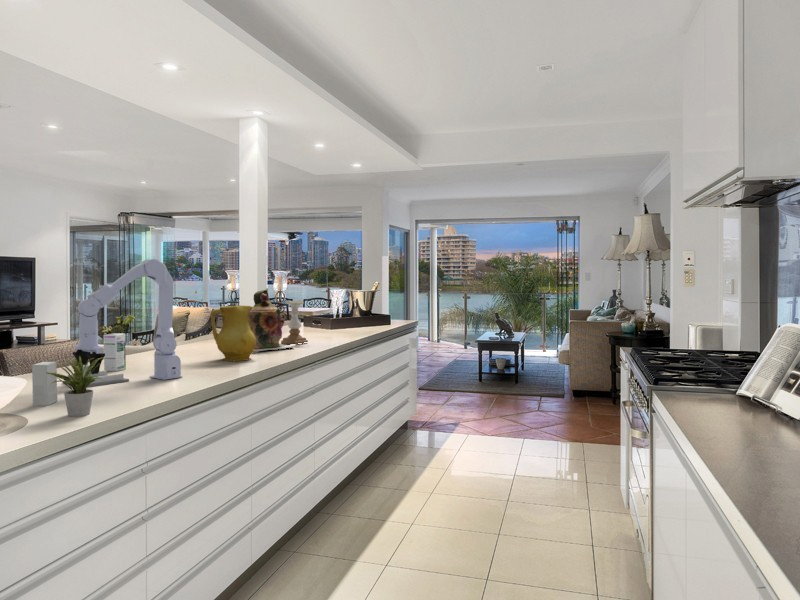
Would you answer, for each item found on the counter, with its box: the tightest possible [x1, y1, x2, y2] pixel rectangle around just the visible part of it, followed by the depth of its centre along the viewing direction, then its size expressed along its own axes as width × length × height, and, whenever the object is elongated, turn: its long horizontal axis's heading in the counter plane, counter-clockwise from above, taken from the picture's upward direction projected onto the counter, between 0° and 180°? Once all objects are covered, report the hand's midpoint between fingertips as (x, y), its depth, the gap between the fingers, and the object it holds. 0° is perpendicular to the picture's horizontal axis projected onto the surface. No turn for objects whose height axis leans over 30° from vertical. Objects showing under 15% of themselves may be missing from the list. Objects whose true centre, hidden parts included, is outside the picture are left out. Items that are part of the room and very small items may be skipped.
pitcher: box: [210, 305, 256, 362], centre depth 275 cm, size 17×19×25 cm
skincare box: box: [31, 361, 58, 407], centre depth 176 cm, size 6×4×12 cm
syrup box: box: [103, 332, 127, 372], centre depth 240 cm, size 6×6×14 cm
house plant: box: [47, 356, 104, 418], centre depth 165 cm, size 14×14×16 cm
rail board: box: [63, 370, 130, 388], centre depth 212 cm, size 14×16×3 cm
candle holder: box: [280, 300, 309, 345], centre depth 342 cm, size 11×11×24 cm
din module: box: [83, 363, 99, 378], centre depth 210 cm, size 4×5×6 cm
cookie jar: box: [248, 287, 296, 353], centre depth 317 cm, size 25×25×32 cm
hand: (89, 372), depth 210 cm, fingers open, 7 cm apart
